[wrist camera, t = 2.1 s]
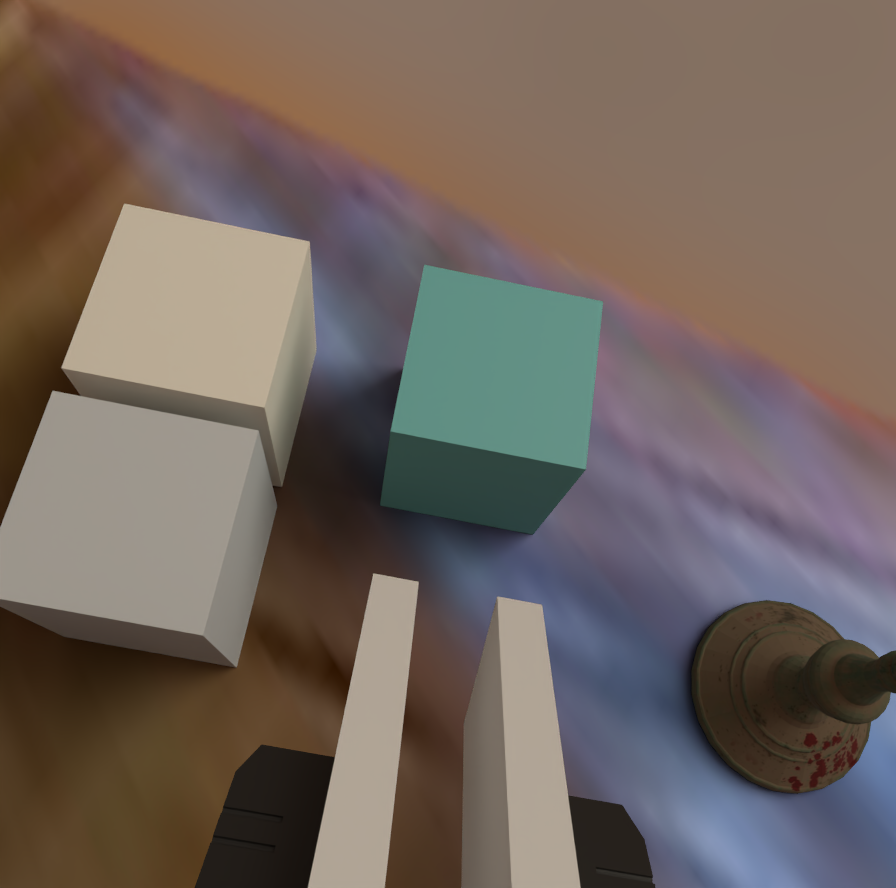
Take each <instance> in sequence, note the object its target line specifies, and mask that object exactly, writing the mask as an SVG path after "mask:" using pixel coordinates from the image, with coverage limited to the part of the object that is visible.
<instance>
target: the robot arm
mask: <svg viewBox="0 0 896 888" xmlns="http://www.w3.org/2000/svg"><path fill="white" fill-rule="evenodd" d="M418 584H419V582H416V581H411V580H406V579H400V578H395V577H390V576H384V575H379V574H373V578H372V583H371V588H370V593H369V597H368V602H367V607H366V612H365V616H364V621H363V626H362V631H361V636H360V640H359V645H358V650H357V655H356V660H355V664H354V669H353V674H352V679H351V683H350V688H349V693H348V698H347V703H346V707H345V712H344V717H343V722H342V727H341V731H340V736H339V741H338V746H337V750H336V755H335V757H330V756H324V755H318V754H313V753H307V752H301V751H295V750H290V749H284V748H278V747H272V746H267V745H261V746H260V747H259V748H258V749H257V750H256V751H255V752H254V753H253V754H252V755H251V756H250V757H249V758H248V759H247V760H246V761H245V762H244V763H243V764H242V766H241V767H240V768H239V769H238V770H237V771H236V772H235V775H234V778H233V781H232V783H231V786H230V789H229V792H228V795H227V798H226V801H225V803H224V806H223V811H222V813H221V815H220V818H219V820H218V823H217V826H216V829H215V832H214V835H213V839H212V842H211V843H210V846H209V849H208V852H207V854H206V857H205V860H204V863H203V866H202V869H201V872H200V874H199V877H198V880H197V883H196V886H195V888H385V880H386V871H387V862H388V853H389V844H390V835H391V826H392V817H393V808H394V799H395V790H396V781H397V772H398V763H399V754H400V745H401V736H402V727H403V718H404V709H405V700H406V692H407V683H408V674H409V665H410V656H411V647H412V638H413V629H414V620H415V611H416V602H417V593H418ZM652 878H653V875H652V871H651V866H650V862H649V858H648V853H647V849H646V845H645V840H644V838H643V837H642V835H641V834H640V832H639V830H638V829H637V827H636V826H635V824H634V823H633V821H632V820H631V818H630V816H629V815H628V813H627V812H626V810H625V809H624V807H623V806H622V805H619V804H614V803H608V802H602V801H596V800H591V799H585V798H579V797H574V796H568V792H567V784H566V777H565V770H564V763H563V755H562V748H561V741H560V733H559V726H558V719H557V711H556V704H555V697H554V689H553V682H552V675H551V667H550V660H549V653H548V645H547V638H546V631H545V623H544V616H543V609H542V605H540V604H535V603H529V602H524V601H519V600H513V599H508V598H503V597H497V600H496V604H495V607H494V611H493V615H492V619H491V623H490V626H489V630H488V634H487V638H486V642H485V645H484V649H483V653H482V657H481V661H480V664H479V668H478V672H477V676H476V680H475V683H474V687H473V691H472V695H471V699H470V702H469V706H468V710H467V714H466V718H465V721H464V754H463V825H462V888H655V884H653V883H652Z"/></svg>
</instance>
